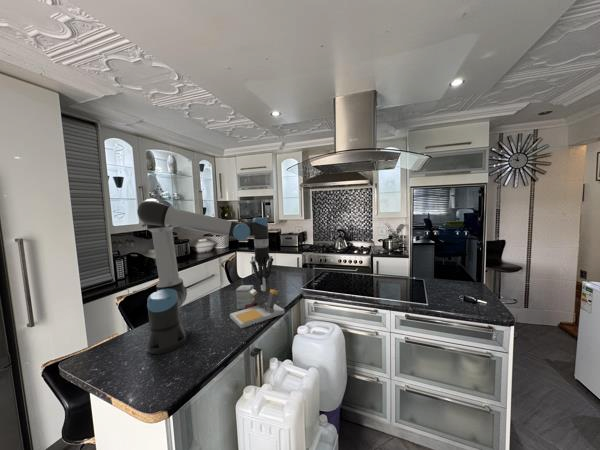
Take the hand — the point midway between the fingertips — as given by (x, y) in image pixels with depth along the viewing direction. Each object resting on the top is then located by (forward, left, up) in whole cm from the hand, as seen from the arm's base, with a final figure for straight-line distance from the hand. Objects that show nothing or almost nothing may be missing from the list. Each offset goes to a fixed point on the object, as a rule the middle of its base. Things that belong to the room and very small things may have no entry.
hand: (263, 290), depth 131 cm
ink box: (-2, +20, -14) cm, 25 cm away
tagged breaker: (+3, 0, -11) cm, 11 cm away
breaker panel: (-3, +3, -14) cm, 15 cm away
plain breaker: (+3, +9, -11) cm, 14 cm away
